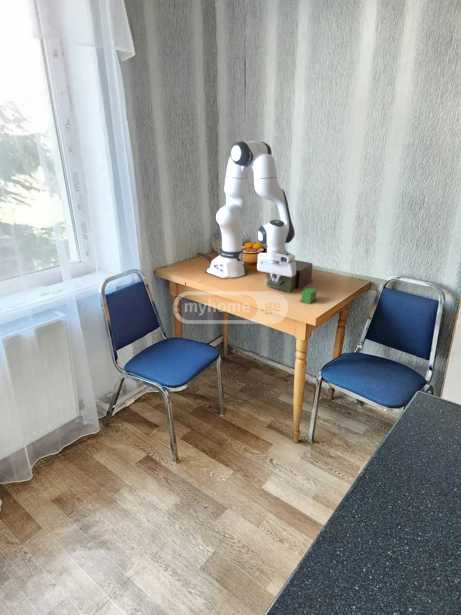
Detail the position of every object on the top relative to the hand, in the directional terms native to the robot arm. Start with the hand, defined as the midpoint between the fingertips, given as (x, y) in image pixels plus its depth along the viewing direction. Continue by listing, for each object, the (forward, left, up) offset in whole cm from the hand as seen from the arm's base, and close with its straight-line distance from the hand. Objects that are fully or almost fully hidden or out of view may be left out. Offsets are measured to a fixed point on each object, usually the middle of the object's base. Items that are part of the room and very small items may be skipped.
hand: (275, 282), depth 195 cm
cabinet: (0, +19, -6) cm, 20 cm away
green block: (+18, +1, -6) cm, 19 cm away
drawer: (0, +8, -5) cm, 9 cm away
